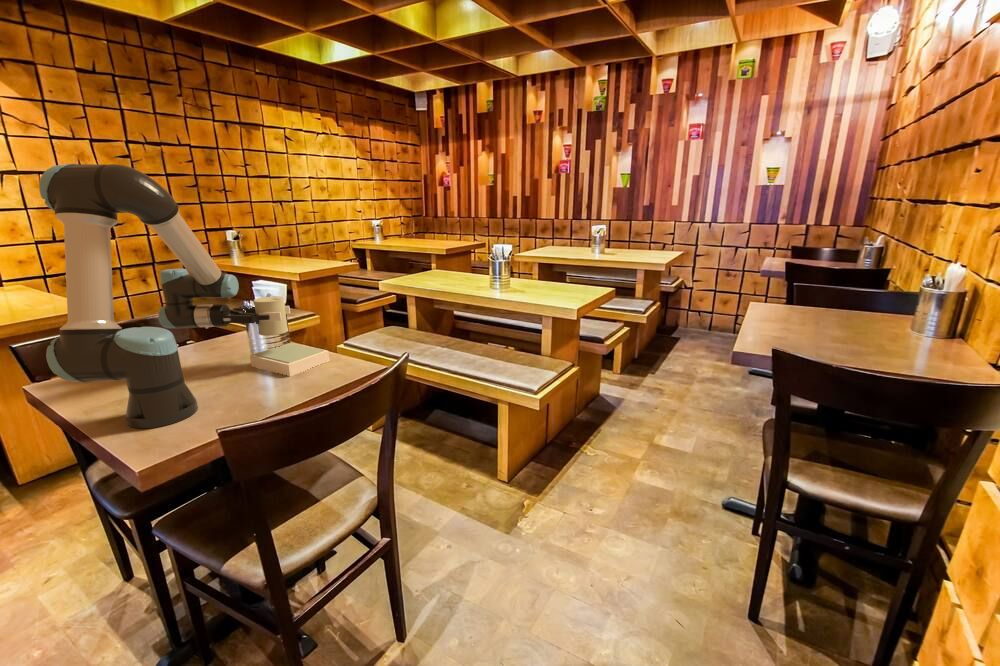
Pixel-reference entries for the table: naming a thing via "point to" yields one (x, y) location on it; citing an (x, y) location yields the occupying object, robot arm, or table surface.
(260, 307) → the can
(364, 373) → the table surface
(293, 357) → the block
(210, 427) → the table surface
